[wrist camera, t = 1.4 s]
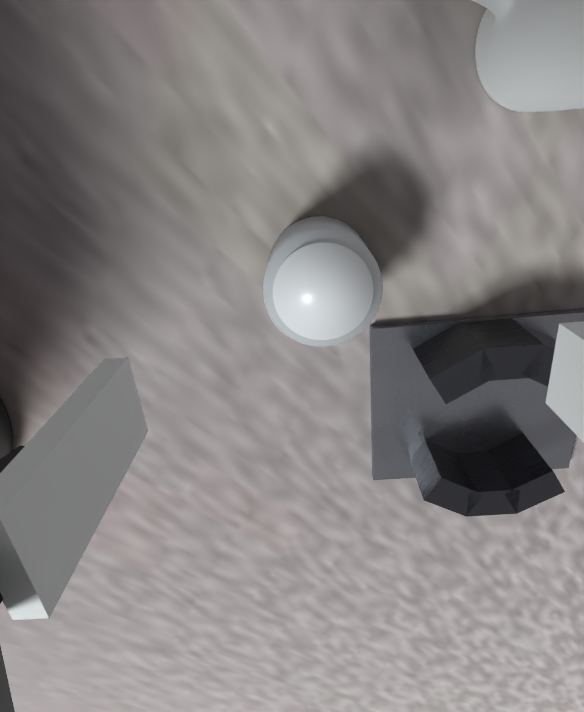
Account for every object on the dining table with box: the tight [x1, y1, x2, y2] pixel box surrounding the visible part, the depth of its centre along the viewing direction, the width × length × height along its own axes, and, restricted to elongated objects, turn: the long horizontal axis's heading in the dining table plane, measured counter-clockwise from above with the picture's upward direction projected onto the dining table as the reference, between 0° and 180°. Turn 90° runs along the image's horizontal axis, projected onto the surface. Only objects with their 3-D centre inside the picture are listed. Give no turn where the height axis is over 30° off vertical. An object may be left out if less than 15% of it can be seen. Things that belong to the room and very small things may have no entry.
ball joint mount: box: [370, 309, 584, 516], centre depth 29 cm, size 14×12×5 cm
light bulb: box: [263, 216, 383, 347], centre depth 25 cm, size 6×6×5 cm
